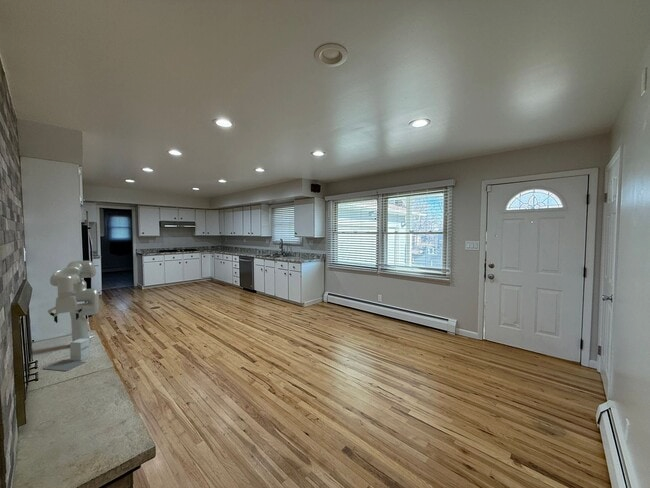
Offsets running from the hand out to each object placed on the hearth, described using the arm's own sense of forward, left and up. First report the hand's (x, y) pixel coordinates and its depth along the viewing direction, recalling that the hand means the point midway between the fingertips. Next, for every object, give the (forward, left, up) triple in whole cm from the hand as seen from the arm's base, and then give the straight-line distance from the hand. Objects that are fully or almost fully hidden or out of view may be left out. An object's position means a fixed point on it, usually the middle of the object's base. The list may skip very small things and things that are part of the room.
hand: (66, 320), depth 180 cm
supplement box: (-9, -2, -30) cm, 31 cm away
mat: (+1, -1, -29) cm, 29 cm away
